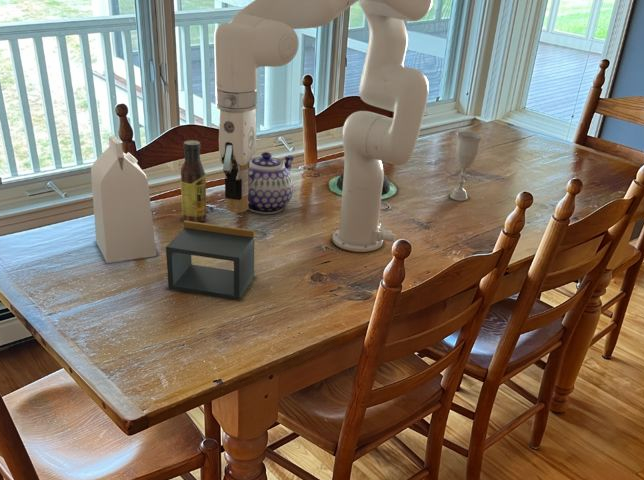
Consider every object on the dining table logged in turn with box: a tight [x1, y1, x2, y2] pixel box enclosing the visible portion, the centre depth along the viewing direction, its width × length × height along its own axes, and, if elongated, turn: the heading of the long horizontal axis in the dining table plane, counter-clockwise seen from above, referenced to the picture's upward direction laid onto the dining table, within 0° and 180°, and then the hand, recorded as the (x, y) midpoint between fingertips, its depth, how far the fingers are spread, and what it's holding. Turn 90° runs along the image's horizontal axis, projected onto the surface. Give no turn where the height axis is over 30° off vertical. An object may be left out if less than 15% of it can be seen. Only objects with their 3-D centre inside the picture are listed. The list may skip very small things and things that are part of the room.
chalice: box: [449, 130, 484, 202], centre depth 204 cm, size 7×7×18 cm
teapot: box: [248, 151, 295, 215], centre depth 192 cm, size 25×15×15 cm, turn 143°
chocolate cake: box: [328, 161, 397, 200], centre depth 211 cm, size 15×19×20 cm
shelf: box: [165, 220, 255, 301], centre depth 156 cm, size 16×11×12 cm
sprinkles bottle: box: [225, 160, 249, 213], centre depth 140 cm, size 5×5×14 cm
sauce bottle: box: [180, 140, 207, 223], centre depth 182 cm, size 7×6×20 cm
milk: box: [90, 134, 157, 264], centre depth 164 cm, size 12×12×26 cm
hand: (237, 192), depth 142 cm, fingers closed on sprinkles bottle, 4 cm apart
